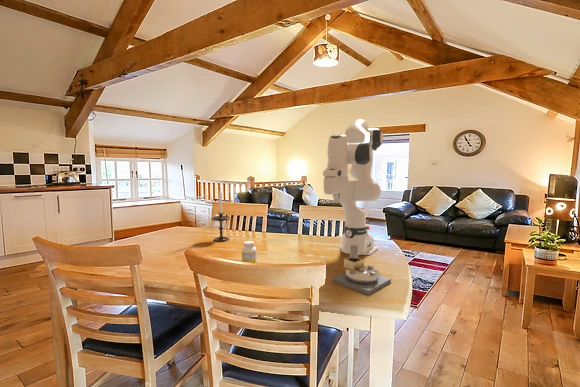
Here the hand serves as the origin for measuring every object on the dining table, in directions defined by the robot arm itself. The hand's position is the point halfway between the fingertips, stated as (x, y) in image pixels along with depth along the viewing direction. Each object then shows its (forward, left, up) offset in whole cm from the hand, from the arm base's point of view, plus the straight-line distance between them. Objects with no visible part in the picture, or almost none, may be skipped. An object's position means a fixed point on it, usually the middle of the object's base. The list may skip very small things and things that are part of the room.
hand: (336, 202), depth 134 cm
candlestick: (+10, -82, -31) cm, 88 cm away
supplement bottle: (+28, -28, -31) cm, 50 cm away
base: (+3, +16, -31) cm, 35 cm away
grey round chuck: (+3, +16, -29) cm, 33 cm away
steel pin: (+2, +11, -26) cm, 29 cm away
